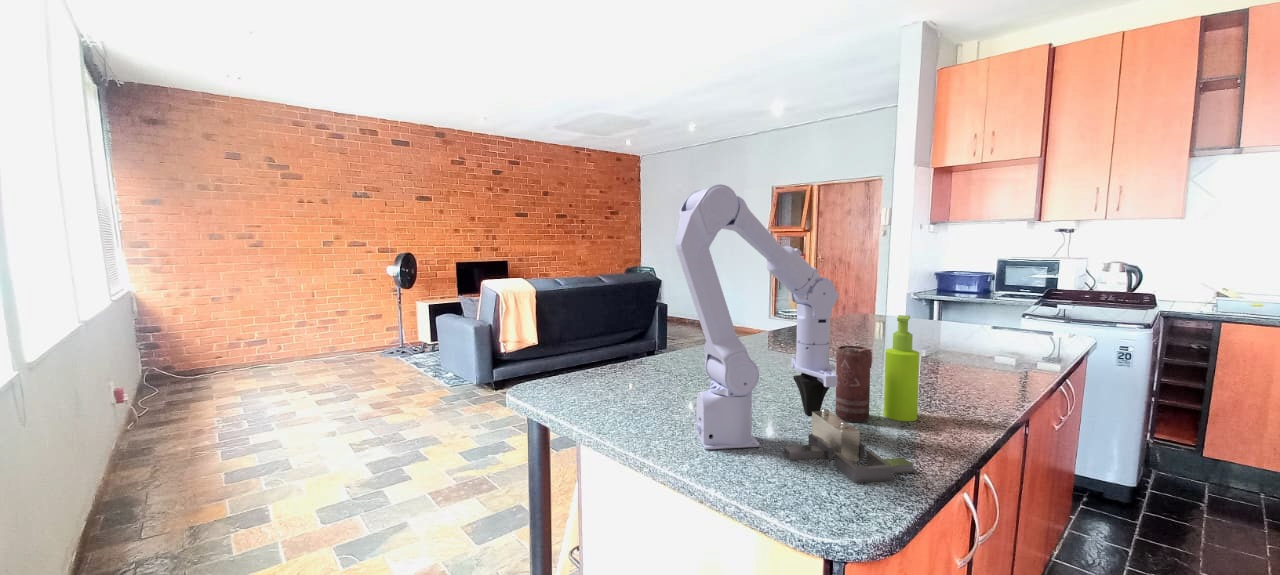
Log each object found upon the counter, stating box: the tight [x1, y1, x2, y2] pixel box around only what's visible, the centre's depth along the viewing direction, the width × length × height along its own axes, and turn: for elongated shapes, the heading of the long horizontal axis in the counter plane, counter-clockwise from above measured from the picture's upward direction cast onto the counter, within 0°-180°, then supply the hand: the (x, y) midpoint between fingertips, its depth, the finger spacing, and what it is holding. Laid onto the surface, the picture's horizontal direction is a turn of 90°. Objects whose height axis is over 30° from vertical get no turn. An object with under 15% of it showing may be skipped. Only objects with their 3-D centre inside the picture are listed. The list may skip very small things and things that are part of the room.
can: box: [835, 345, 873, 424], centre depth 97 cm, size 6×6×14 cm
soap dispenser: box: [883, 314, 920, 422], centre depth 98 cm, size 6×7×20 cm
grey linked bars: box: [783, 433, 914, 484], centre depth 78 cm, size 16×14×2 cm
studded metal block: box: [811, 408, 860, 463], centre depth 83 cm, size 3×10×6 cm, turn 7°
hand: (811, 415), depth 91 cm, fingers closed
